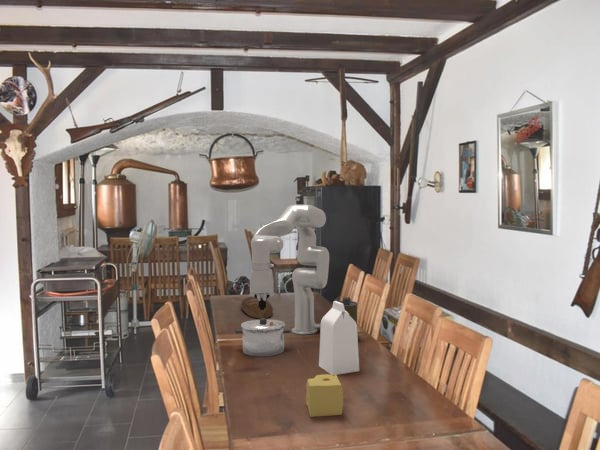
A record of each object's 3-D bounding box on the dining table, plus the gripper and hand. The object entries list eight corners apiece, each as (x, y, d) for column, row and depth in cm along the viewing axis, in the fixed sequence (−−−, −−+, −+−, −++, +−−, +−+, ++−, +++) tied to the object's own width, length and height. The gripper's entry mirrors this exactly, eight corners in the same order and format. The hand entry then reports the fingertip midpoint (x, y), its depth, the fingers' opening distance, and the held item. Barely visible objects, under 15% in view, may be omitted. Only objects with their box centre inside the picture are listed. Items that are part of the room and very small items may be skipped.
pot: (292, 344, 244) (291, 322, 243) (289, 356, 226) (289, 333, 226) (239, 344, 245) (238, 322, 244) (233, 356, 227) (232, 333, 226)
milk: (318, 365, 214) (318, 301, 212) (344, 362, 218) (344, 298, 217) (332, 375, 203) (332, 307, 201) (359, 371, 207) (359, 304, 206)
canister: (356, 343, 244) (356, 300, 242) (333, 342, 246) (333, 299, 245) (358, 337, 254) (358, 295, 253) (337, 336, 256) (336, 294, 255)
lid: (286, 321, 245) (286, 314, 244) (283, 330, 225) (283, 323, 225) (244, 321, 245) (244, 314, 245) (238, 330, 226) (238, 323, 226)
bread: (262, 305, 330) (262, 291, 329) (278, 318, 295) (277, 303, 294) (237, 307, 325) (236, 293, 324) (250, 320, 290) (249, 305, 290)
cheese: (305, 404, 175) (305, 374, 175) (338, 403, 176) (338, 373, 176) (309, 418, 165) (308, 386, 164) (343, 416, 166) (343, 384, 165)
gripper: (279, 265, 232) (280, 307, 233) (244, 265, 232) (246, 307, 234) (278, 268, 224) (279, 311, 226) (242, 268, 225) (243, 312, 227)
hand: (262, 309), depth 230 cm, fingers closed
